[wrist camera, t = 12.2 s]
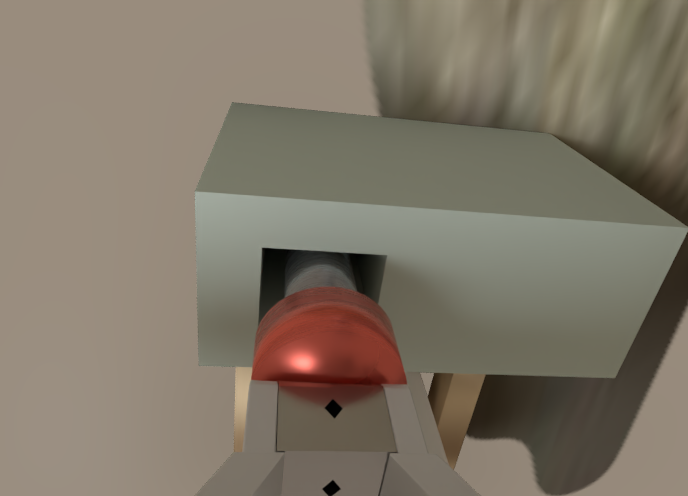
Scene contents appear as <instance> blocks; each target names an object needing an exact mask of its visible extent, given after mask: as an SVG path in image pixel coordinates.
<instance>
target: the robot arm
mask: <svg viewBox="0 0 688 496" xmlns="http://www.w3.org/2000/svg"><path fill="white" fill-rule="evenodd" d="M195 496H480V495H479V494H478V493H477V492H476V491H475V490H474V489H473V488H472V487H471V486H470V485H469V484H468V483H467V482H466V481H465V480H463V478H462V477H460V476H459V475H458V474H457V473H456V472H455V471H454V470H453V469H452V468H451V467H450V466H449V465H448V464H447V463H446V462H445V461H444V460H443V459H441V458H440V457H439V456H438V455H437V454H429V453H428V449H427V446H426V442H425V439H424V435H423V432H422V428H421V425H420V422H419V418H418V415H417V411H416V408H415V404H414V401H413V397H412V394H411V390H410V388H409V387H408V385H407V384H381V385H380V384H342V383H311V382H291V381H278V382H277V381H261V380H251V381H250V385H249V391H248V401H247V411H246V421H245V430H244V440H243V450H242V452H233V453H232V455H231V456H230V457H229V458H228V459H227V460H226V461H225V462H224V464H223V465H222V466H221V467H220V468H219V469H218V470H217V471H216V472H215V473H214V475H213V476H212V477H211V478H210V479H209V480H208V481H207V482H206V484H205V485H204V486H203V487H202V488H201V489H200V490H199V491H198V492H197V494H196V495H195Z"/></svg>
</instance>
